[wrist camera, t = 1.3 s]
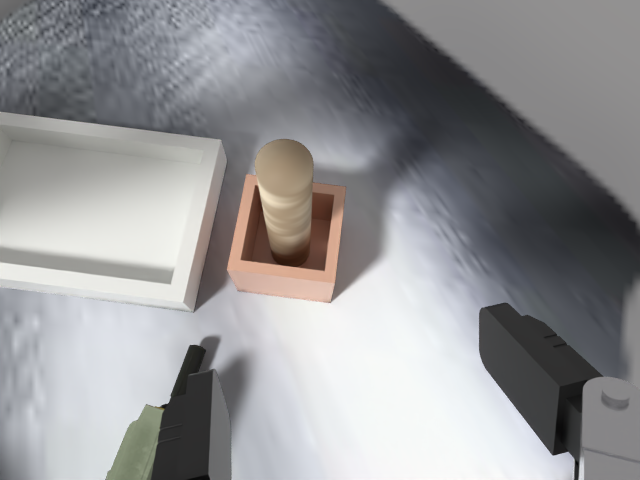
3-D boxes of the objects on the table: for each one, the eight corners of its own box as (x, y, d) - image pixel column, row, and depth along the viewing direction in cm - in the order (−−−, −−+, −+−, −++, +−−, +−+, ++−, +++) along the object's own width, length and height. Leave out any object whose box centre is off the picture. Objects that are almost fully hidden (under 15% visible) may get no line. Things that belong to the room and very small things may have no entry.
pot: (238, 290, 38) (226, 269, 33) (254, 207, 41) (246, 174, 35) (330, 302, 38) (334, 283, 33) (340, 218, 41) (346, 186, 35)
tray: (-52, 280, 38) (-86, 267, 34) (10, 133, 43) (-14, 110, 39) (193, 312, 38) (183, 302, 34) (227, 160, 42) (220, 139, 39)
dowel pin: (268, 265, 38) (250, 186, 25) (274, 229, 39) (260, 135, 26) (307, 270, 38) (309, 194, 25) (312, 234, 39) (316, 142, 26)
